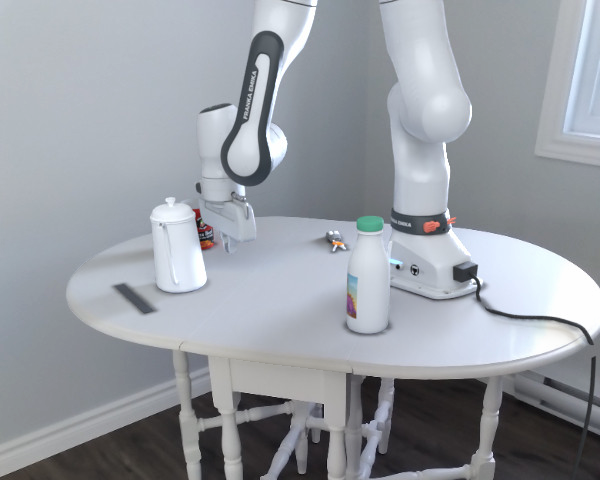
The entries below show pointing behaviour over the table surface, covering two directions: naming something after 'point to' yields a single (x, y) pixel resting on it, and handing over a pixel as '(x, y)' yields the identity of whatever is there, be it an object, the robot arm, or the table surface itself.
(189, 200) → the canned food
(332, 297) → the table surface
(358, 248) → the milk bottle
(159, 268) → the coffeepot
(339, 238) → the key chain
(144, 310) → the tape line
